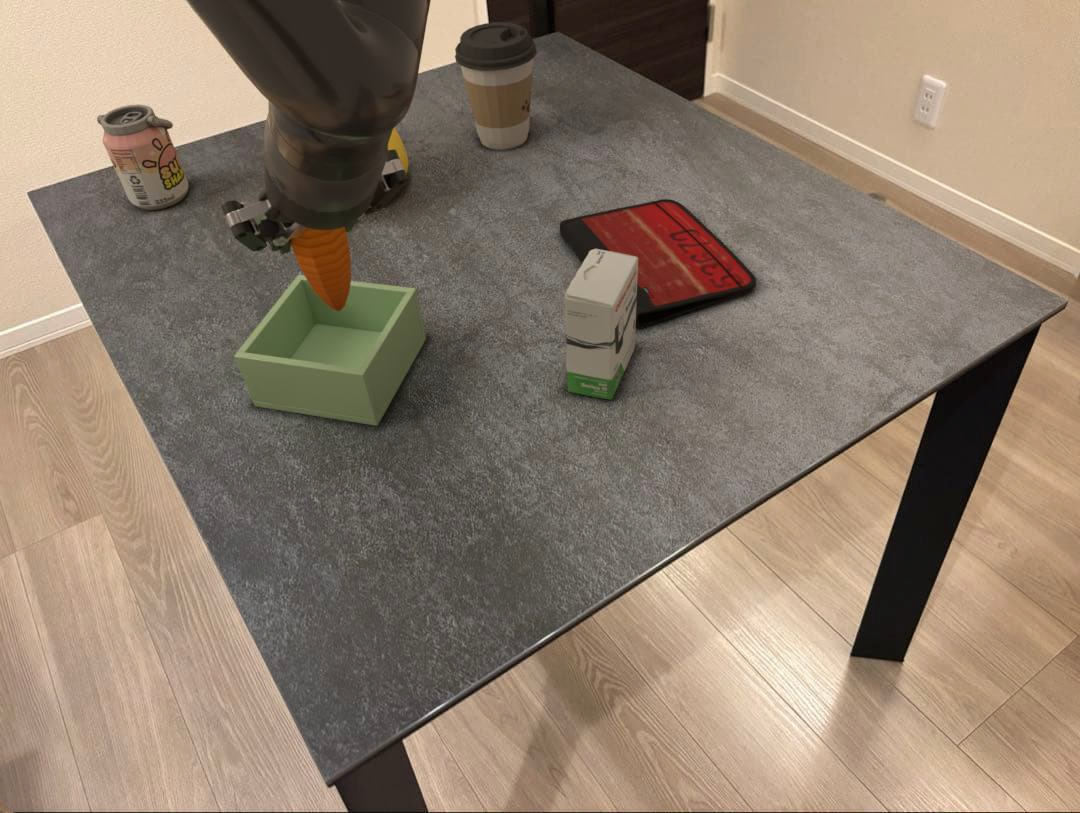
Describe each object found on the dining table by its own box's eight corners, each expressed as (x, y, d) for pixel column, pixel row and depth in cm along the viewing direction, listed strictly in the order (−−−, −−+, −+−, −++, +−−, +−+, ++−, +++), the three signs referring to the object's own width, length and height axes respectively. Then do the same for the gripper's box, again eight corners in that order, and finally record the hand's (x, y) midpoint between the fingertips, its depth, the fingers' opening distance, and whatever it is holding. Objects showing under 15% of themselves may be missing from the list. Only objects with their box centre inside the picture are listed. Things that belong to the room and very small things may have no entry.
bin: (377, 426, 81) (363, 375, 76) (254, 406, 84) (233, 356, 79) (426, 338, 90) (416, 288, 85) (314, 323, 93) (298, 274, 89)
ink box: (612, 402, 81) (612, 306, 73) (565, 392, 83) (560, 296, 75) (637, 347, 87) (640, 252, 79) (592, 338, 89) (591, 244, 80)
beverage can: (151, 177, 120) (117, 97, 112) (205, 179, 119) (174, 98, 111) (119, 211, 114) (80, 129, 106) (175, 213, 113) (140, 130, 104)
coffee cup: (541, 154, 118) (535, 48, 108) (462, 158, 119) (448, 53, 108) (542, 118, 126) (536, 16, 116) (468, 122, 127) (455, 21, 116)
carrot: (361, 326, 71) (318, 168, 61) (305, 328, 72) (253, 171, 61) (371, 292, 75) (332, 136, 65) (317, 294, 75) (270, 139, 65)
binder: (636, 313, 87) (558, 219, 101) (635, 331, 89) (558, 235, 103) (766, 278, 91) (673, 192, 106) (762, 295, 93) (671, 208, 107)
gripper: (402, 71, 56) (371, 165, 72) (190, 132, 51) (208, 217, 67) (447, 174, 56) (407, 245, 72) (241, 244, 51) (247, 302, 68)
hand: (311, 231), depth 70 cm, fingers closed on carrot, 5 cm apart
